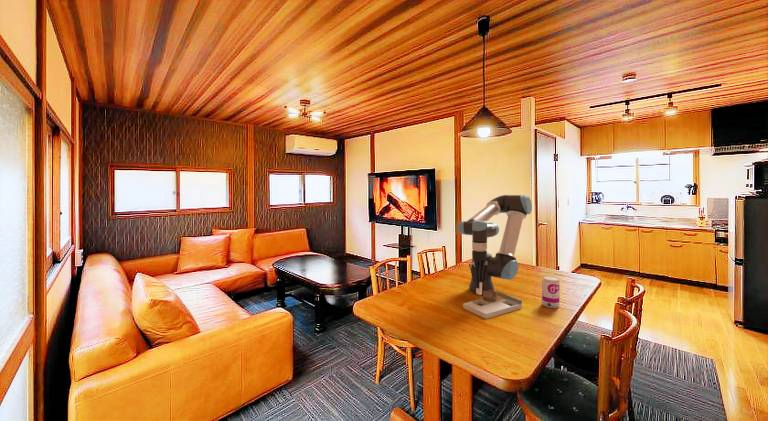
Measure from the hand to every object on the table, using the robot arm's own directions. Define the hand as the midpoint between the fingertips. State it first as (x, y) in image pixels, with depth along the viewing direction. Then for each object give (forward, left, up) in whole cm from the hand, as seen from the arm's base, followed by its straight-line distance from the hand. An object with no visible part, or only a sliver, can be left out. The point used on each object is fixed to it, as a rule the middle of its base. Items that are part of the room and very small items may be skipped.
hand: (479, 293), depth 162 cm
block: (-1, +8, -5) cm, 10 cm away
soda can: (+17, +36, -8) cm, 40 cm away
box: (+3, +6, -8) cm, 11 cm away
